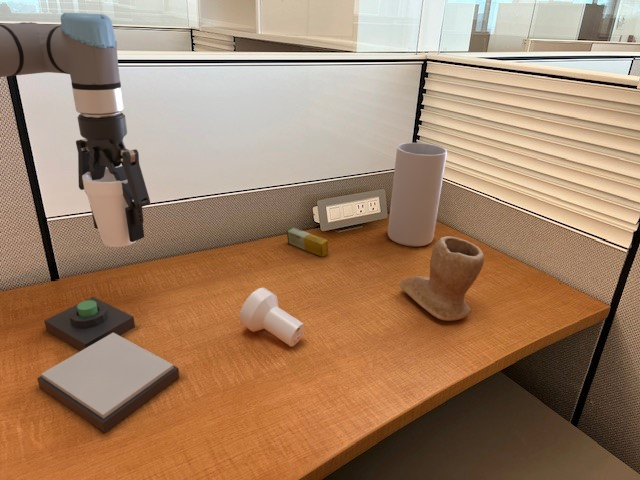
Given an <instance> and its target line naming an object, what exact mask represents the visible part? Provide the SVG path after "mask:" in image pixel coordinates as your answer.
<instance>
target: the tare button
mask: <svg viewBox="0 0 640 480" xmlns="http://www.w3.org/2000/svg"><path fill="white" fill-rule="evenodd" d="M86 300H87V299H86ZM77 304H78V305H77ZM77 304H76V305H77V309H78V314H79V316H80V317H90V316H93V315H95V314H97V312H98V309H97V304H96V302H95V301H92V300H87V301H85V300H84V301H81V302H79V303H77Z"/></svg>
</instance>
